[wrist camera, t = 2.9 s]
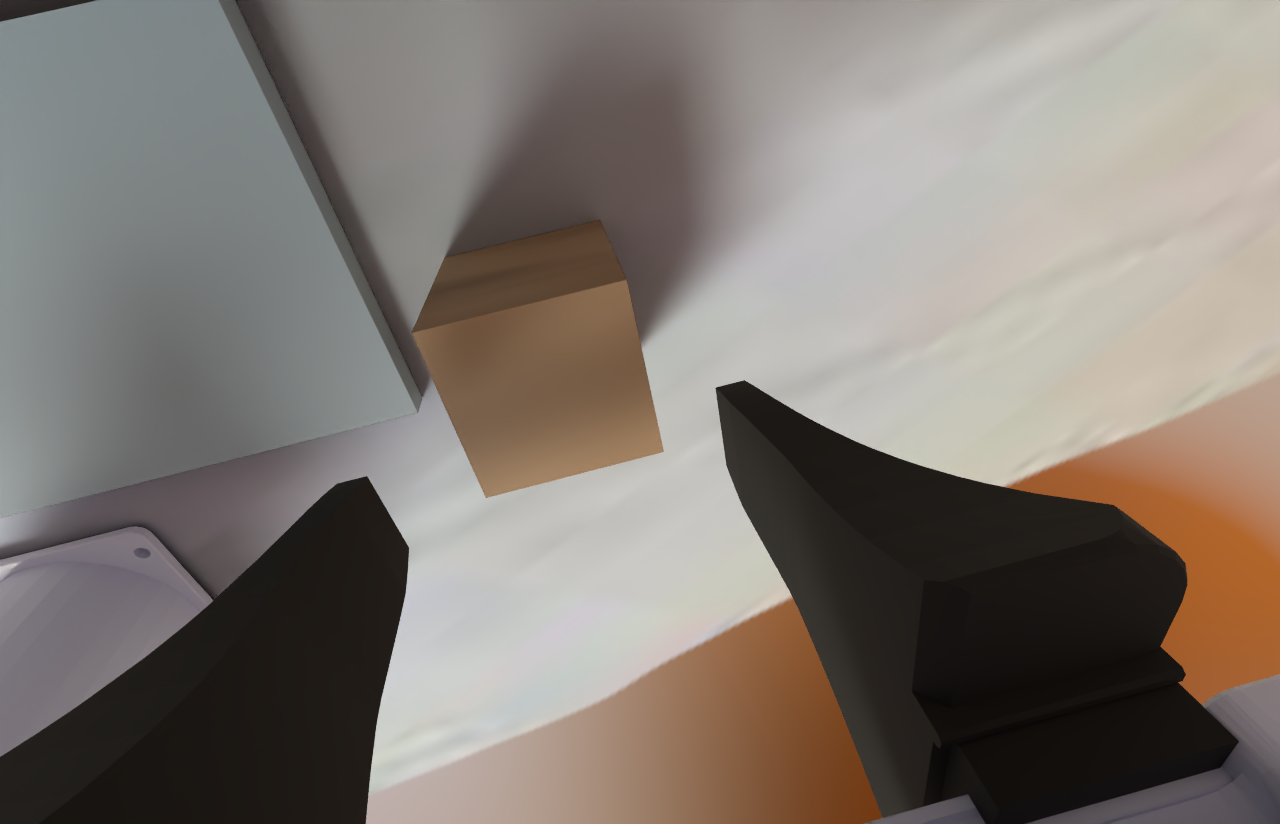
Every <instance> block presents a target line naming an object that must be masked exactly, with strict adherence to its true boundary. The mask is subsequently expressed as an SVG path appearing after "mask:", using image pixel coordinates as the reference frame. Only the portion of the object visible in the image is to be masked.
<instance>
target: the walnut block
mask: <svg viewBox="0 0 1280 824" xmlns="http://www.w3.org/2000/svg"><path fill="white" fill-rule="evenodd" d="M412 335H413V337H414V339H415V342H416V344H417V346H418V348H419V351H420V353H421V355H422V357H423V359H424V362H425V364H426V366H427V368H428V370H429V373H430V375H431V377H432V379H433V382H434V384H435V386H436V388H437V390H438V393H439V395H440V397H441V399H442V401H443V404H444V406H445V408H446V410H447V413H448V415H449V417H450V419H451V421H452V424H453V426H454V428H455V430H456V433H457V435H458V437H459V439H460V441H461V444H462V446H463V448H464V450H465V452H466V455H467V457H468V459H469V461H470V464H471V466H472V468H473V470H474V472H475V475H476V477H477V479H478V481H479V484H480V486H481V488H482V490H483V492H484V495H485V497H486V498H487V497H491V496H495V495H499V494H503V493H507V492H511V491H514V490H518V489H522V488H526V487H530V486H534V485H537V484H541V483H545V482H549V481H553V480H557V479H561V478H564V477H568V476H572V475H576V474H580V473H584V472H588V471H591V470H595V469H599V468H603V467H607V466H611V465H615V464H618V463H622V462H626V461H630V460H634V459H638V458H642V457H645V456H649V455H653V454H657V453H661V452H664V451H663V446H662V441H661V437H660V432H659V427H658V423H657V418H656V414H655V409H654V404H653V400H652V395H651V390H650V386H649V381H648V376H647V372H646V367H645V363H644V358H643V353H642V349H641V344H640V339H639V335H638V330H637V325H636V321H635V316H634V312H633V307H632V302H631V298H630V293H629V288H628V284H627V279H626V277H625V275H624V273H623V271H622V268H621V266H620V264H619V262H618V259H617V257H616V255H615V253H614V250H613V248H612V246H611V244H610V241H609V239H608V237H607V235H606V233H605V230H604V228H603V226H602V224H601V221H600V220H597V221H593V222H589V223H585V224H581V225H576V226H572V227H568V228H564V229H560V230H556V231H552V232H548V233H544V234H540V235H536V236H531V237H527V238H523V239H519V240H515V241H511V242H507V243H503V244H499V245H495V246H490V247H486V248H482V249H478V250H474V251H470V252H466V253H462V254H458V255H454V256H449V257H445V258H444V260H443V263H442V265H441V267H440V269H439V272H438V274H437V276H436V279H435V281H434V283H433V285H432V288H431V290H430V292H429V295H428V297H427V299H426V301H425V304H424V306H423V308H422V311H421V313H420V315H419V317H418V320H417V322H416V324H415V327H414V329H413V331H412Z"/></svg>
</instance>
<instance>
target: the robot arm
mask: <svg viewBox="0 0 1280 824" xmlns="http://www.w3.org/2000/svg"><path fill="white" fill-rule="evenodd" d="M716 394H717V401H718V408H719V415H720V423H721V430H722V437H723V444H724V451H725V458H726V465H727V468H728V471H729V473H730V476H731V478H732V481H733V484H734V486H735V489H736V491H737V494H738V496H739V499H740V501H741V503H742V506H743V508H744V509H745V511H746V513H747V515H748V517H749V519H750V520H751V522H752V524H753V526H754V528H755V530H756V531H757V533H758V535H759V537H760V539H761V540H762V542H763V544H764V546H765V548H766V549H767V551H768V553H769V555H770V557H771V558H772V560H773V562H774V564H775V566H776V567H777V569H778V571H779V573H780V574H781V576H782V578H783V580H784V582H785V583H786V585H787V587H788V589H789V591H790V593H791V595H792V597H793V599H794V601H795V603H796V605H797V607H798V609H799V611H800V613H801V616H802V618H803V620H804V623H805V625H806V627H807V629H808V632H809V634H810V637H811V639H812V641H813V644H814V646H815V648H816V651H817V653H818V655H819V658H820V660H821V663H822V665H823V667H824V670H825V672H826V675H827V677H828V679H829V682H830V684H831V687H832V689H833V691H834V694H835V697H836V699H837V701H838V704H839V706H840V709H841V711H842V714H843V717H844V719H845V721H846V724H847V727H848V729H849V732H850V734H851V737H852V739H853V741H854V744H855V747H856V749H857V752H858V754H859V757H860V759H861V762H862V765H863V767H864V770H865V773H866V775H867V778H868V780H869V783H870V786H871V788H872V791H873V794H874V796H875V799H876V802H877V804H878V807H879V809H880V812H881V815H882V817H883V818H882V819H878V820H875V821H871V822H868V823H864V824H1280V675H1276V676H1273V677H1269V678H1265V679H1262V680H1259V681H1255V682H1251V683H1248V684H1244V685H1241V686H1237V687H1233V688H1231V689H1228V690H1226V691H1223V692H1221V693H1219V694H1217V695H1215V696H1213V697H1212V698H1210V699H1209V700H1207V701H1206V702H1205V703H1204V704H1203V705H1201V704H1200V703H1199V702H1198V701H1197V700H1196V699H1195V698H1194V697H1193V696H1191V695H1190V694H1189V693H1188V692H1187V691H1186V690H1185V689H1184V688H1183V687H1182V686H1181V685H1180V684H1179V683H1178V682H1180V681H1183V679H1184V677H1185V675H1186V674H1185V672H1184V670H1183V668H1182V666H1181V665H1179V664H1178V663H1177V662H1176V661H1175V660H1174V659H1173V658H1172V657H1171V656H1170V655H1169V654H1168V653H1167V652H1165V651H1164V650H1163V649H1162V648H1161V647H1160V646H1161V644H1162V642H1163V640H1164V638H1165V636H1166V634H1167V631H1168V629H1169V627H1170V625H1171V623H1172V621H1173V619H1174V617H1175V615H1176V613H1177V611H1178V609H1179V607H1180V605H1181V603H1182V600H1183V597H1184V594H1185V590H1186V587H1187V573H1186V565H1185V562H1184V561H1183V560H1182V559H1181V558H1180V556H1179V555H1178V554H1177V553H1176V552H1175V551H1174V550H1173V549H1171V548H1170V547H1169V546H1167V545H1166V544H1164V542H1162V541H1161V540H1159V539H1158V538H1157V537H1156V536H1154V535H1153V534H1152V533H1150V532H1149V531H1148V530H1146V529H1145V528H1144V527H1142V526H1141V525H1139V524H1138V523H1137V522H1136V521H1134V520H1133V519H1132V518H1131V517H1129V516H1128V515H1127V514H1125V513H1124V512H1123V511H1121V510H1120V509H1118V508H1117V507H1115V506H1114V505H1109V504H1103V503H1096V502H1089V501H1082V500H1075V499H1068V498H1062V497H1055V496H1048V495H1041V494H1034V493H1030V492H1025V491H1020V490H1015V489H1010V488H1005V487H1000V486H996V485H991V484H986V483H982V482H978V481H974V480H970V479H966V478H961V477H958V476H954V475H951V474H947V473H944V472H940V471H937V470H933V469H930V468H926V467H923V466H920V465H917V464H914V463H911V462H908V461H905V460H902V459H899V458H896V457H894V456H891V455H888V454H886V453H883V452H880V451H878V450H875V449H872V448H870V447H867V446H865V445H863V444H860V443H858V442H856V441H853V440H851V439H849V438H847V437H845V436H843V435H841V434H839V433H836V432H834V431H832V430H830V429H828V428H826V427H824V426H822V425H820V424H818V423H816V422H814V421H813V420H811V419H809V418H807V417H805V416H803V415H802V414H800V413H798V412H796V411H795V410H793V409H791V408H789V407H788V406H786V405H784V404H783V403H781V402H779V401H778V400H776V399H774V398H773V397H771V396H769V395H768V394H766V393H764V392H763V391H761V390H760V389H758V388H756V387H755V386H753V385H751V384H750V383H748V382H746V381H745V380H744V381H740V382H736V383H732V384H728V385H724V386H720V387H717V388H716ZM143 548H144V549H147V550H144V549H143ZM408 557H409V547H408V545H407V544H406V542H405V540H404V539H403V537H402V535H401V533H400V532H399V530H398V528H397V527H396V525H395V523H394V521H393V520H392V518H391V516H390V515H389V513H388V511H387V509H386V508H385V506H384V504H383V503H382V501H381V499H380V497H379V496H378V494H377V492H376V491H375V489H374V487H373V485H372V484H371V482H370V480H369V479H368V477H367V476H366V477H362V478H358V479H354V480H350V481H346V482H342V483H338V484H336V485H335V486H334V487H333V488H331V489H330V490H329V491H328V492H327V493H325V494H324V495H323V496H322V497H321V498H320V499H319V500H318V501H317V502H316V503H315V504H314V505H313V506H312V507H310V508H309V509H308V510H307V511H306V512H305V513H304V514H303V515H302V516H301V517H300V518H299V519H298V520H297V521H296V522H295V523H294V524H293V525H292V526H291V527H290V528H289V529H288V530H287V531H286V532H285V533H284V534H283V535H282V536H281V537H280V538H279V539H278V540H277V541H276V542H275V543H274V544H273V545H272V546H271V547H270V548H269V549H268V550H267V551H266V552H265V553H264V554H263V555H262V556H261V557H260V558H259V559H258V560H257V561H256V562H255V563H254V564H252V565H251V566H250V567H249V568H248V569H247V570H246V571H245V572H244V573H243V574H242V575H241V576H239V577H238V578H237V579H236V580H235V581H234V582H233V583H232V584H231V585H230V586H229V587H228V588H227V589H225V590H224V591H223V592H222V593H221V594H220V595H219V596H218V597H217V598H216V599H215V600H214V601H213V600H212V598H211V597H210V596H209V595H208V594H207V593H206V592H205V591H204V590H203V588H202V587H201V586H200V585H199V584H198V583H197V582H196V581H195V580H194V579H193V577H192V576H191V575H190V574H189V573H188V572H187V571H186V570H185V569H184V568H183V566H182V565H181V564H180V563H179V562H178V561H177V560H176V559H175V558H174V557H173V555H172V554H171V553H170V552H169V551H168V550H167V549H166V548H165V547H164V546H163V544H162V543H161V542H160V541H159V540H158V539H157V538H156V537H155V536H154V535H153V533H151V532H150V531H149V530H148V529H145V528H143V527H136V526H135V527H128V528H124V529H120V530H116V531H112V532H108V533H104V534H100V535H96V536H92V537H88V538H84V539H81V540H77V541H73V542H69V543H65V544H61V545H57V546H53V547H49V548H45V549H41V550H37V551H33V552H30V553H26V554H22V555H18V556H14V557H10V558H6V559H2V560H0V824H365V823H366V813H367V803H368V792H369V781H370V772H371V764H372V756H373V748H374V739H375V731H376V724H377V718H378V713H379V708H380V702H381V697H382V693H383V689H384V685H385V681H386V676H387V672H388V668H389V664H390V659H391V655H392V651H393V647H394V642H395V638H396V634H397V630H398V625H399V621H400V616H401V612H402V608H403V603H404V598H405V593H406V584H407V573H408Z"/></svg>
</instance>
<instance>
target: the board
mask: <svg viewBox="0 0 1280 824" xmlns="http://www.w3.org/2000/svg"><path fill="white" fill-rule="evenodd" d="M421 401H422V396H421V394H420V392H419V390H418V388H417V386H416V383H415V381H414V379H413V377H412V375H411V373H410V371H409V369H408V366H407V364H406V362H405V360H404V358H403V356H402V354H401V352H400V349H399V347H398V345H397V343H396V341H395V339H394V337H393V335H392V332H391V330H390V328H389V326H388V324H387V322H386V320H385V318H384V315H383V313H382V311H381V309H380V307H379V305H378V303H377V301H376V298H375V296H374V294H373V292H372V290H371V288H370V286H369V284H368V281H367V279H366V277H365V275H364V273H363V271H362V269H361V267H360V264H359V262H358V260H357V258H356V256H355V254H354V252H353V250H352V247H351V245H350V243H349V241H348V239H347V237H346V235H345V233H344V230H343V228H342V226H341V224H340V222H339V220H338V218H337V216H336V213H335V211H334V209H333V207H332V205H331V203H330V201H329V199H328V196H327V194H326V192H325V190H324V188H323V186H322V184H321V182H320V179H319V177H318V175H317V173H316V171H315V169H314V167H313V165H312V162H311V160H310V158H309V156H308V154H307V152H306V150H305V148H304V145H303V143H302V141H301V139H300V137H299V135H298V133H297V131H296V128H295V126H294V124H293V122H292V120H291V118H290V116H289V114H288V111H287V109H286V107H285V105H284V103H283V101H282V99H281V97H280V94H279V92H278V90H277V88H276V86H275V84H274V82H273V80H272V77H271V75H270V73H269V71H268V69H267V67H266V65H265V63H264V60H263V58H262V56H261V54H260V52H259V50H258V48H257V46H256V43H255V41H254V39H253V37H252V35H251V33H250V31H249V29H248V26H247V24H246V22H245V20H244V18H243V16H242V14H241V12H240V9H239V7H238V5H237V3H236V1H235V0H97V1H92V2H88V3H83V4H79V5H74V6H70V7H65V8H61V9H56V10H52V11H47V12H43V13H38V14H34V15H29V16H25V17H20V18H15V19H11V20H6V21H2V22H0V518H3V517H7V516H11V515H15V514H19V513H23V512H27V511H31V510H35V509H39V508H43V507H47V506H51V505H55V504H59V503H63V502H67V501H71V500H75V499H79V498H82V497H86V496H90V495H94V494H98V493H102V492H106V491H110V490H114V489H118V488H122V487H126V486H130V485H134V484H138V483H142V482H146V481H150V480H154V479H158V478H162V477H166V476H170V475H174V474H178V473H182V472H186V471H189V470H193V469H197V468H201V467H205V466H209V465H213V464H217V463H221V462H225V461H229V460H233V459H237V458H241V457H245V456H249V455H253V454H257V453H261V452H265V451H269V450H273V449H277V448H281V447H285V446H289V445H293V444H297V443H300V442H304V441H308V440H312V439H316V438H320V437H324V436H328V435H332V434H336V433H340V432H344V431H348V430H352V429H356V428H360V427H364V426H368V425H372V424H376V423H380V422H384V421H388V420H392V419H396V418H400V417H404V416H408V415H411V414H415V413H418V411H419V408H420V405H421Z"/></svg>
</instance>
